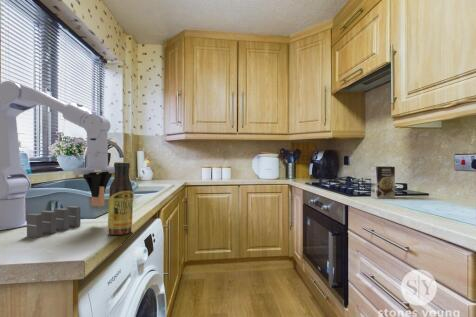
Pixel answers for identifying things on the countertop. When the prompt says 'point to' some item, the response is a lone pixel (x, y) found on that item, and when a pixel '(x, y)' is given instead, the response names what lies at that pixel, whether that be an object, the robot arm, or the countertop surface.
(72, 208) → the domino
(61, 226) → the domino
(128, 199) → the sauce bottle
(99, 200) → the domino
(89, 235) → the countertop surface
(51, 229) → the domino
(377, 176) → the coffee box
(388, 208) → the countertop surface
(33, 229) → the domino
